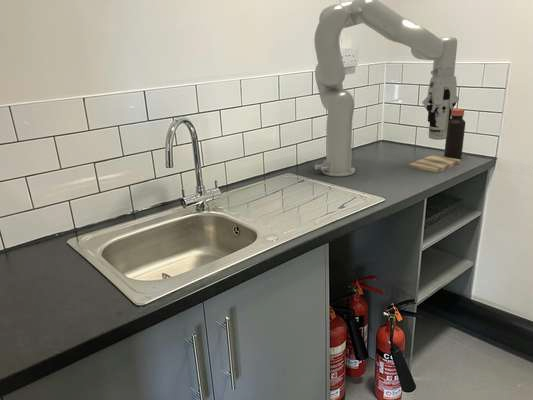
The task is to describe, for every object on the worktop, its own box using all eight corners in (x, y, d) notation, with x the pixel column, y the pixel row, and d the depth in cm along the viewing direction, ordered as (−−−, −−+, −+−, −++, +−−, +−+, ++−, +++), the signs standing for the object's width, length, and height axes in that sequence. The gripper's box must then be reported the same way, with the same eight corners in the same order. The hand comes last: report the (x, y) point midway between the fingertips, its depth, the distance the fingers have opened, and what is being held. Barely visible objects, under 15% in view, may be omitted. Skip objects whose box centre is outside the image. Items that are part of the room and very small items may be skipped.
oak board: (437, 173, 164) (437, 169, 164) (408, 167, 173) (408, 163, 173) (460, 163, 175) (460, 159, 175) (432, 158, 184) (432, 154, 184)
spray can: (424, 137, 172) (428, 85, 165) (437, 135, 175) (442, 83, 168) (437, 140, 166) (442, 86, 159) (450, 138, 169) (456, 85, 162)
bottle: (456, 155, 187) (461, 107, 180) (464, 159, 181) (470, 110, 174) (441, 156, 187) (445, 108, 180) (448, 160, 180) (453, 111, 173)
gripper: (430, 75, 156) (426, 125, 162) (469, 71, 161) (464, 120, 167) (417, 74, 163) (413, 122, 169) (455, 70, 168) (450, 117, 174)
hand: (439, 120), depth 168 cm, fingers closed on spray can, 6 cm apart
